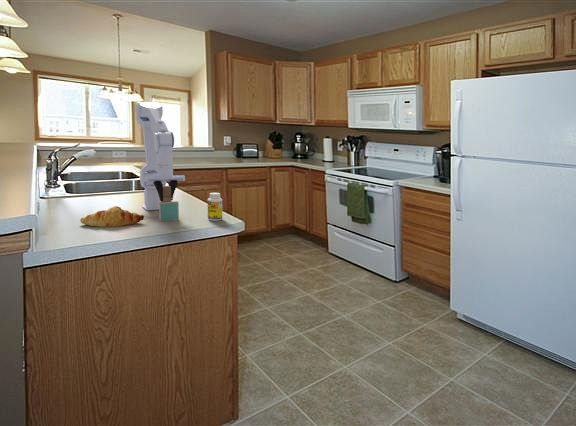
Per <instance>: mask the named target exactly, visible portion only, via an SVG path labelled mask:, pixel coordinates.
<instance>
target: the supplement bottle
mask: <svg viewBox="0 0 576 426" xmlns="http://www.w3.org/2000/svg"><path fill="white" fill-rule="evenodd" d="M222 219H223V198H221V193H220V192H210V193H209V197H208V198H207V220H208V221H212V222H214V221H215V222H216V221H217V222H219V221H222Z"/></svg>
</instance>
